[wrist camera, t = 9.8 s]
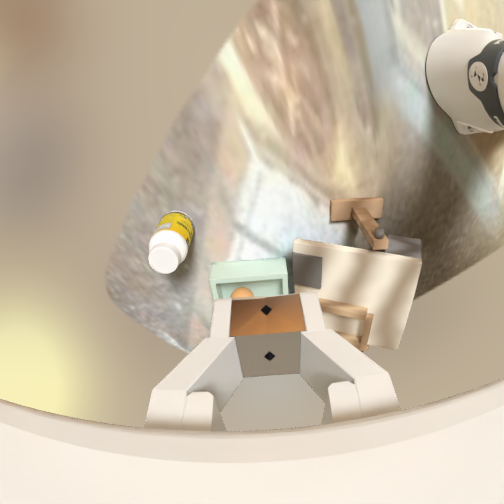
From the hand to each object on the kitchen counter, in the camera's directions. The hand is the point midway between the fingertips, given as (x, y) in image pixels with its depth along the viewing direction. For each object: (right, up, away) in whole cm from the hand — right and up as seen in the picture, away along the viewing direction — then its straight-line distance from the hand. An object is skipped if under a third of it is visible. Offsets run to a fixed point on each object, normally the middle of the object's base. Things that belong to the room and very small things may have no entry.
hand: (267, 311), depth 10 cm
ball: (-2, -6, +42) cm, 42 cm away
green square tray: (0, -4, +44) cm, 44 cm away
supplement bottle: (-12, +6, +38) cm, 40 cm away
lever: (+16, -1, +38) cm, 42 cm away
